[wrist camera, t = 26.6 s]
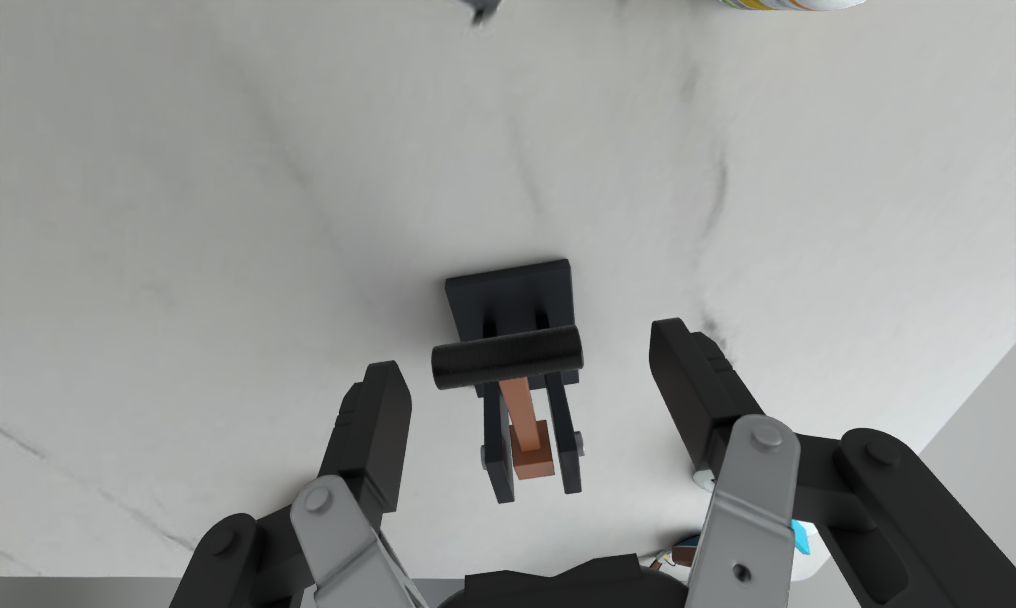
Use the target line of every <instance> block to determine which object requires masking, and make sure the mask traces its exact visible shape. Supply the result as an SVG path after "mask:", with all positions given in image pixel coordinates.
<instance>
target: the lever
mask: <svg viewBox="0 0 1016 608" xmlns="http://www.w3.org/2000/svg"><path fill="white" fill-rule="evenodd" d="M431 364H432V372H433V377H434V381H435V384H436V386H437V388H438V389H439V390H445V389H451V388H458V387H465V386H471V385H478V384H484V383H491V382H497V381H498V382H499V385H500V388H501V391H502V394H503V397H504V400H505V403H506V406H507V409H508V412H509V415H510V418H511V421H512V424H513V425H509V429H510V439H511V449H512V458H513V467H514V469H515V471H516V474H517V476H518V479H519V480H523V479H530V478H537V477H545V476H552V475H555V472H554V465H553V459H552V453H551V446H550V440H549V434H548V428H547V422H546V420H541V421H536V418H535V413H534V409H533V404H532V399H531V394H530V389H529V384H528V380H527V377H530V376H537V375H543V374H550V373H557V372H563V371H570V370H576V369H582V368H583V365H584V360H583V351H582V345H581V340H580V335H579V332H578V329H577V327H576V325H568V326H561V327H555V328H549V329H542V330H536V331H530V332H523V333H517V334H510V335H504V336H498V337H491V338H485V339H479V340H472V341H466V342H459V343H453V344H447V345H440V346H435V347H434V348H433V350H432V356H431Z"/></svg>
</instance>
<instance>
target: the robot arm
mask: <svg viewBox="0 0 1016 608" xmlns="http://www.w3.org/2000/svg"><path fill="white" fill-rule="evenodd" d="M649 364H650V369H651V372H652V375H653V378H654V380H655V382H656V384H657V386H658V388H659V390H660V393H661V395H662V397H663V399H664V401H665V403H666V405H667V408H668V410H669V412H670V414H671V416H672V418H673V421H674V423H675V425H676V427H677V429H678V431H679V433H680V436H681V438H682V440H683V442H684V444H685V446H686V448H687V451H688V453H689V455H690V457H691V459H692V461H693V463H694V466H695V468H696V470H697V471H704V470H711V472H712V474H713V476H714V478H715V480H716V482H715V485H714V489H713V493H712V496H711V500H710V503H709V507H708V510H707V514H706V518H705V521H704V525H703V528H702V532H701V536H700V539H699V543H698V546H697V550H696V553H695V556H694V560H693V563H692V566H691V570H690V573H689V577H688V580H687V584H686V585H684V584H683V583H682V582H680V581H679V580H677V579H675V578H674V577H672V576H670V575H668V574H666V573H664V572H661V571H659V570H656V569H653V568H650V567H646V566H641V565H639V562H638V558H637V555H636V553H633V554H626V555H618V556H610V557H603V558H595V559H592V560H590V561H587V562H585V563H583V564H581V565H579V566H576V567H574V568H572V569H570V570H568V571H565V572H563V573H561V574H559V575H557V576H554V577H544V576H538V575H532V574H526V573H520V572H515V571H509V570H503V571H496V572H488V573H480V574H473V575H465V588H464V589H462V590H460V591H458V592H457V593H455V594H453V595H452V596H450V597H449V598H448V599H447V600H445V601H444V602H443V603H441V604H440V605H439V606H438V607H437V608H787V604H788V596H789V588H790V580H791V572H792V564H793V556H794V548H795V531H794V529H792V528H791V519H793V520H798V521H803V522H808V523H813V524H814V526H815V527H816V529H817V531H818V533H819V534H820V536H821V538H822V540H823V541H824V543H825V545H826V547H827V548H828V550H829V552H830V554H831V555H832V557H833V559H834V560H835V562H836V564H837V565H838V567H839V569H840V571H841V573H842V574H843V576H844V578H845V579H846V581H847V583H848V585H849V587H850V588H851V590H852V592H853V594H854V595H855V597H856V599H857V600H858V602H859V604H860V605H861V607H862V608H1016V567H1015V566H1014V565H1013V564H1012V563H1011V561H1010V560H1009V559H1008V558H1007V557H1006V556H1005V555H1004V553H1003V552H1002V551H1001V550H1000V549H999V548H998V547H997V546H996V544H995V543H994V542H993V541H992V540H991V539H990V538H989V536H988V535H987V534H986V533H985V532H984V531H983V530H982V529H981V527H980V526H979V525H978V524H977V523H976V522H975V521H974V520H973V518H972V517H971V516H970V515H969V514H968V513H967V512H966V510H965V509H964V508H963V507H962V506H961V505H960V504H959V503H958V501H957V500H956V499H955V498H954V497H953V496H952V495H951V493H950V492H949V491H948V490H947V489H946V488H945V487H944V485H943V484H942V483H941V482H940V481H939V480H938V479H937V478H936V476H935V475H934V474H933V473H932V472H931V471H930V470H929V468H928V467H927V466H926V465H925V464H924V463H923V462H922V461H921V459H920V458H919V457H918V456H917V455H916V454H915V453H914V452H913V451H912V450H911V449H910V448H909V447H908V446H907V445H906V444H905V443H903V442H902V441H900V440H899V439H897V438H895V437H893V436H891V435H889V434H887V433H885V432H882V431H879V430H875V429H869V428H856V429H852V430H849V431H847V432H846V433H845V434H844V435H843V436H842V438H841V440H837V439H830V438H822V437H815V436H808V435H802V434H798V433H795V432H793V431H792V430H791V429H790V428H789V427H788V426H786V425H785V424H784V423H782V422H780V421H779V420H777V419H774V418H772V417H769V416H767V415H766V414H765V413H764V412H763V410H762V409H761V408H760V406H759V405H758V403H757V402H756V400H755V399H754V397H753V396H752V395H751V393H750V392H749V390H748V389H747V387H746V386H745V384H744V383H743V382H742V380H741V379H740V377H739V376H738V374H737V373H736V371H735V370H733V368H732V366H731V364H730V363H729V361H728V360H727V359H725V356H724V354H723V353H722V351H721V350H720V348H719V347H718V345H717V344H716V342H714V341H713V340H711V339H710V338H709V337H707V336H706V335H704V334H703V333H702V332H694V333H690V332H689V330H688V329H687V327H686V326H685V324H684V322H683V321H682V320H681V319H680V318H678V317H677V318H671V319H664V320H658V321H653V323H652V327H651V338H650V349H649ZM411 412H412V401H411V395H410V392H409V389H408V387H407V385H406V383H405V380H404V378H403V376H402V374H401V372H400V369H399V367H398V365H397V363H396V362H395V361H394V360H392V361H385V362H379V363H372V364H369V365H368V367H367V370H366V373H365V377H364V380H363V382H358V383H354V384H353V386H352V387H351V388H350V390H349V391H348V392H347V394H346V395H345V396H344V398H343V401H342V404H341V407H340V410H339V415H338V416H337V419H336V422H335V428H333V431H332V434H331V437H330V440H329V443H328V446H327V449H326V452H325V455H324V458H323V461H322V464H321V468H320V471H319V473H318V476H317V478H316V479H314V480H313V481H311V482H310V483H308V484H307V485H306V486H305V487H304V488H303V489H302V490H301V491H300V492H299V493H298V495H297V496H296V498H295V500H294V502H293V503H292V504H291V505H289V506H287V507H285V508H282V509H280V510H278V511H276V512H274V513H271V514H269V515H267V516H265V517H263V518H260V519H258V520H255V519H254V518H253V517H252V516H250V515H249V514H246V513H238V514H233V515H231V516H228V517H226V518H224V519H222V520H221V521H219V522H218V523H217V524H215V525H214V526H213V527H212V528H211V529H210V530H209V531H208V532H207V533H206V534H205V535H204V536H203V538H202V539H201V541H200V542H199V544H198V545H197V547H196V549H195V551H194V554H193V556H192V558H191V560H190V562H189V565H188V567H187V569H186V571H185V573H184V575H183V578H182V580H181V582H180V584H179V587H178V589H177V591H176V593H175V595H174V598H173V600H172V602H171V604H170V606H169V608H300V606H301V601H302V597H303V593H304V589H305V588H307V587H309V586H311V585H313V584H315V583H316V586H317V590H316V591H315V592H314V600H315V604H316V607H317V608H429V607H428V606H427V604H426V602H425V601H424V599H423V598H422V596H421V595H420V593H419V592H418V590H417V589H416V588H415V586H414V584H413V582H412V581H411V579H410V578H409V576H408V574H407V572H406V571H405V569H404V567H403V566H402V564H401V562H400V560H399V559H398V557H397V555H396V554H395V552H394V550H393V548H392V547H391V545H390V543H389V542H388V540H387V538H386V537H385V535H384V533H383V531H382V530H381V528H380V526H381V520H382V515H383V513H389V512H396V508H397V502H398V495H399V489H400V482H401V476H402V470H403V463H404V457H405V450H406V444H407V437H408V431H409V424H410V418H411Z"/></svg>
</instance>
